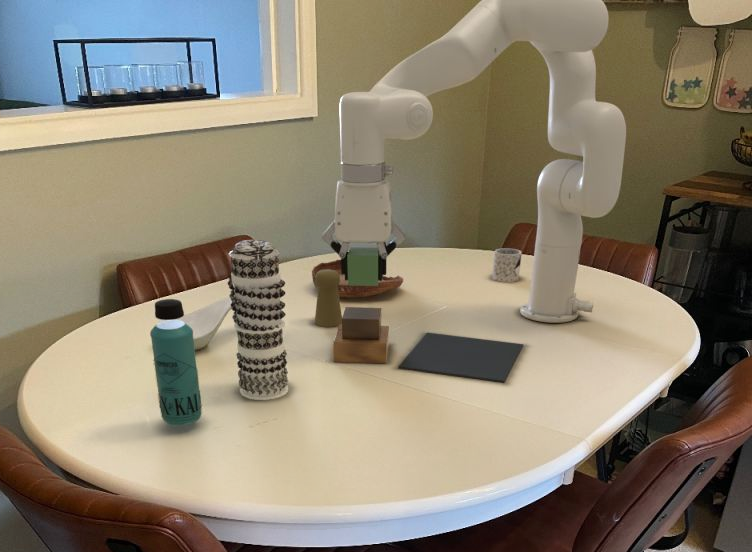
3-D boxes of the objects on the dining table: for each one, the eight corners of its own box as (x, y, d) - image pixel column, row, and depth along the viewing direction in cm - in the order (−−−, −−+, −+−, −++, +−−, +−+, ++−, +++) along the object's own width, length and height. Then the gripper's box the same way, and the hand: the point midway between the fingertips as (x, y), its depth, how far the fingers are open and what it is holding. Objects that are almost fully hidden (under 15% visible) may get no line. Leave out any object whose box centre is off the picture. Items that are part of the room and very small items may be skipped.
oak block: (388, 345, 154) (389, 325, 152) (386, 363, 146) (386, 343, 144) (339, 343, 155) (338, 324, 153) (333, 361, 147) (333, 341, 144)
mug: (520, 282, 193) (523, 255, 189) (494, 282, 193) (496, 254, 189) (514, 271, 201) (517, 245, 198) (489, 271, 202) (491, 245, 198)
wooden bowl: (418, 288, 188) (419, 267, 185) (375, 309, 174) (375, 287, 171) (342, 274, 198) (342, 254, 195) (295, 293, 184) (294, 272, 181)
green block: (379, 277, 145) (379, 247, 142) (377, 286, 141) (377, 255, 138) (350, 277, 146) (350, 247, 143) (347, 285, 141) (347, 255, 138)
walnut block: (381, 328, 151) (381, 307, 149) (379, 340, 145) (379, 319, 143) (345, 326, 152) (345, 306, 149) (342, 339, 146) (341, 318, 144)
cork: (338, 327, 163) (338, 275, 157) (311, 325, 164) (309, 273, 158) (345, 318, 168) (344, 267, 162) (318, 316, 169) (317, 265, 163)
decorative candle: (268, 405, 130) (258, 253, 116) (226, 393, 134) (212, 245, 120) (300, 387, 136) (294, 241, 123) (259, 376, 140) (249, 234, 127)
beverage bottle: (165, 417, 125) (147, 295, 115) (206, 415, 126) (192, 294, 115) (159, 435, 120) (140, 308, 109) (202, 433, 120) (187, 307, 110)
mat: (523, 346, 155) (523, 344, 154) (504, 382, 139) (504, 380, 138) (426, 334, 160) (427, 332, 160) (398, 368, 144) (398, 366, 144)
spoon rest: (180, 361, 146) (175, 324, 142) (147, 345, 153) (141, 310, 149) (277, 332, 160) (275, 298, 156) (243, 319, 167) (240, 286, 163)
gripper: (413, 170, 136) (410, 273, 146) (316, 169, 137) (320, 272, 147) (412, 177, 129) (409, 285, 139) (310, 177, 131) (315, 283, 140)
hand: (363, 277), depth 143 cm, fingers closed on green block, 5 cm apart
